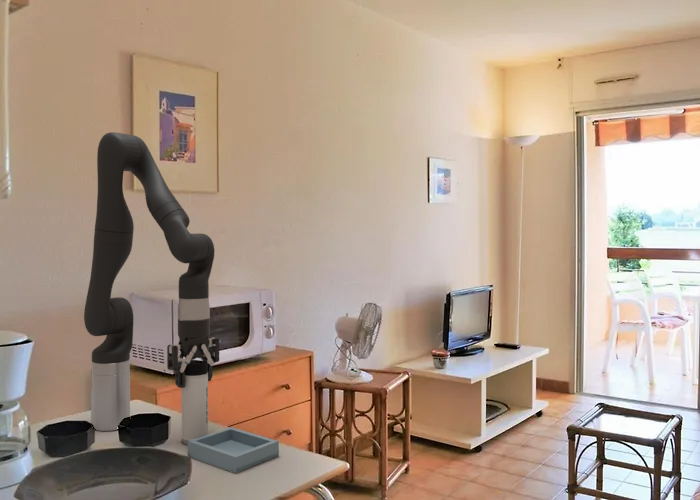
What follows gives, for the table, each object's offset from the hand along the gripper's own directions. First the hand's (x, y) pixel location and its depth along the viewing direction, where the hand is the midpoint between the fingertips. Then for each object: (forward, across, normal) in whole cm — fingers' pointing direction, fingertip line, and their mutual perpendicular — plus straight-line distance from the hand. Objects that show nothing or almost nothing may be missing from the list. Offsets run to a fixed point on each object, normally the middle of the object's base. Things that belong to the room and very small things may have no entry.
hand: (194, 384), depth 158 cm
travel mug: (+14, 0, 0) cm, 14 cm away
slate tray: (+14, +1, +15) cm, 20 cm away
